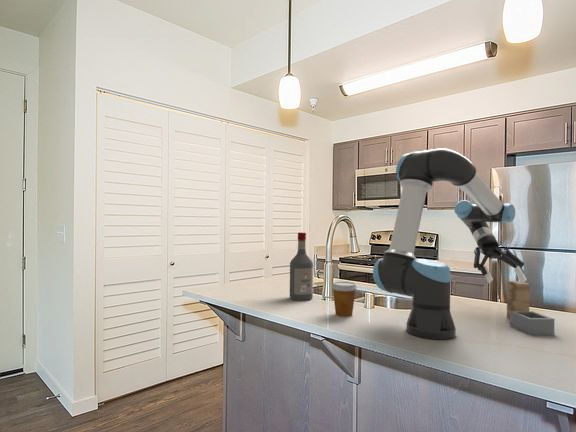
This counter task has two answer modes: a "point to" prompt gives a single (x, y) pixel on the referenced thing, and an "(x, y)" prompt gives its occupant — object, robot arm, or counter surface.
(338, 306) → the disposable coffee cup
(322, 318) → the counter surface
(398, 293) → the robot arm
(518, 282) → the tan tall block
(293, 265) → the liquor
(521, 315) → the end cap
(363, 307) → the counter surface
